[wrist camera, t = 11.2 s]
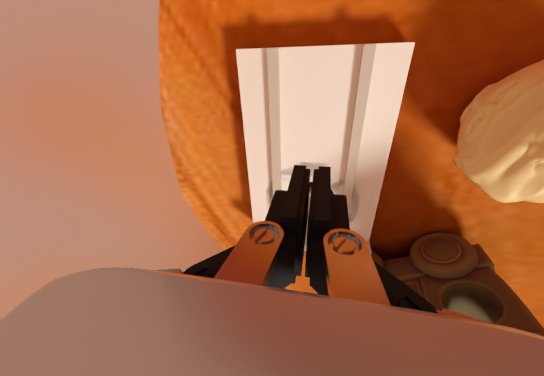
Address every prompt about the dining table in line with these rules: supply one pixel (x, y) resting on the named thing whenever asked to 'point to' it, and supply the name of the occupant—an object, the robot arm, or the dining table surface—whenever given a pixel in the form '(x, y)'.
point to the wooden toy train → (460, 281)
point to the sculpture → (506, 137)
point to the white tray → (322, 119)
